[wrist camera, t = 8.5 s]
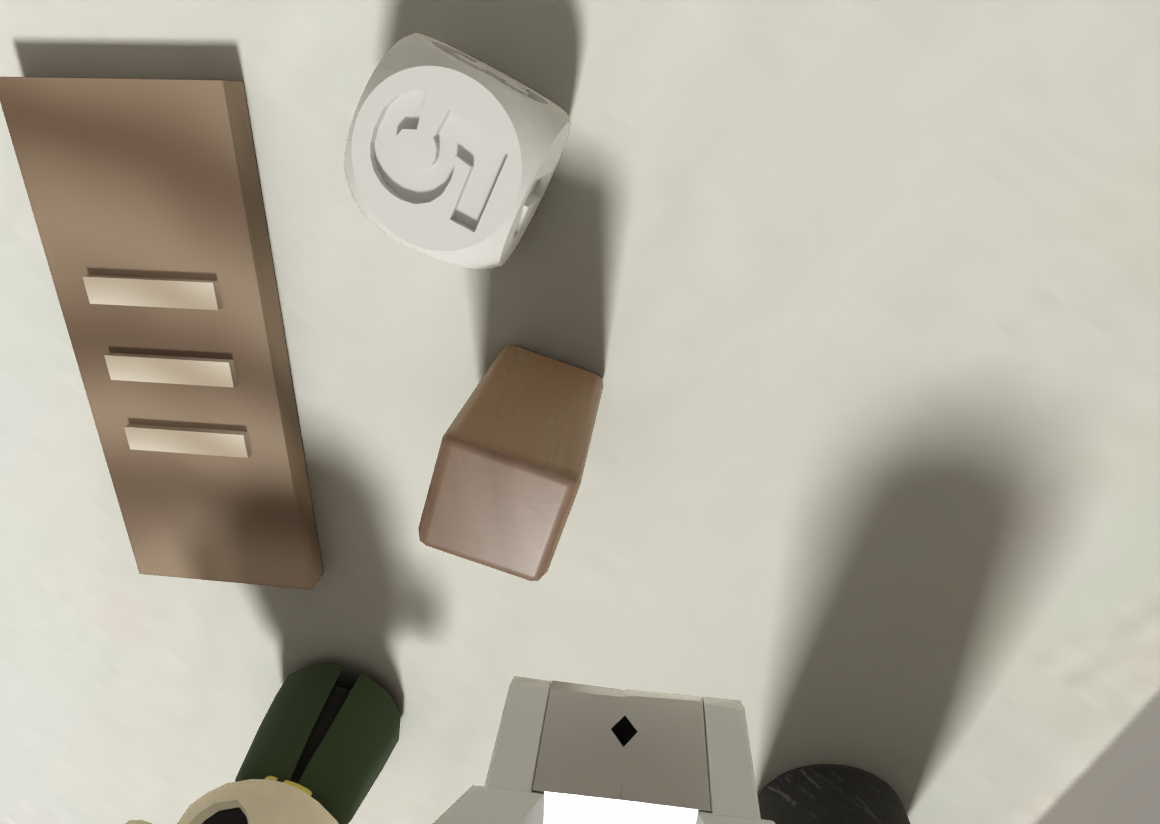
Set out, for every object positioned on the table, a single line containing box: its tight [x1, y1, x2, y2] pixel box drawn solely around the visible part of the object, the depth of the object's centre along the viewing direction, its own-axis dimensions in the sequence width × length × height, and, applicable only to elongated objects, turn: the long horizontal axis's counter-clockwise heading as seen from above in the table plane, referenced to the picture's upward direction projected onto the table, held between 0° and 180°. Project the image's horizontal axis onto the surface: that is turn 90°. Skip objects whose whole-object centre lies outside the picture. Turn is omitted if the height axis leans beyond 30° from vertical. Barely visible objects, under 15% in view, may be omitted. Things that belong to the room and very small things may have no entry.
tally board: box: [0, 77, 323, 589], centre depth 27 cm, size 20×8×2 cm, turn 179°
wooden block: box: [419, 345, 603, 581], centre depth 23 cm, size 4×4×8 cm
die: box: [345, 33, 570, 270], centre depth 21 cm, size 5×5×5 cm
